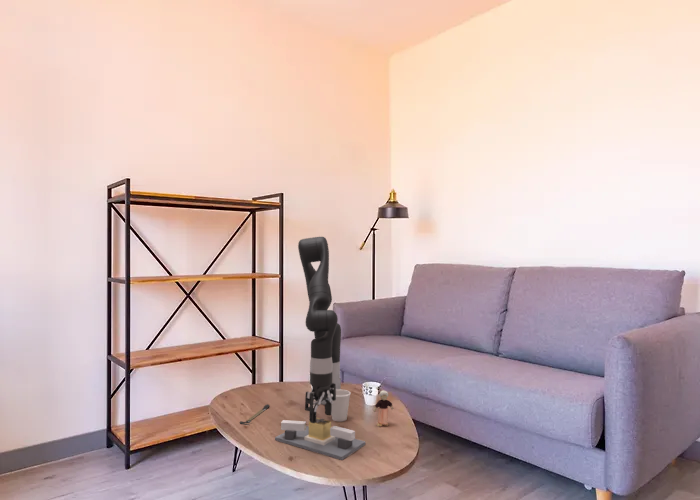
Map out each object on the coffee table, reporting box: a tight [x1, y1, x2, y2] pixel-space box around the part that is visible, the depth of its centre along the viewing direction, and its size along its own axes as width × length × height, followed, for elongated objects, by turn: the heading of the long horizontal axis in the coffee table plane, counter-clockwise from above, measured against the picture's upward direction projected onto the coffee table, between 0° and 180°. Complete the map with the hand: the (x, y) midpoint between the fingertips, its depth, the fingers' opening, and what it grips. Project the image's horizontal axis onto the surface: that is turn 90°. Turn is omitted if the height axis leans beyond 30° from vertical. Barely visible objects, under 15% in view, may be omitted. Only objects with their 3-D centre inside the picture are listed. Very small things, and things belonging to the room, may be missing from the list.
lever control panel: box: [274, 419, 366, 461], centre depth 156 cm, size 27×14×6 cm, turn 57°
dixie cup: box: [331, 388, 351, 422], centre depth 179 cm, size 8×8×10 cm
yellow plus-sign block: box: [308, 417, 332, 440], centre depth 156 cm, size 6×4×5 cm
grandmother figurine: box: [372, 390, 394, 427], centre depth 173 cm, size 8×4×13 cm, turn 118°
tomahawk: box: [238, 403, 270, 426], centre depth 181 cm, size 21×7×1 cm, turn 163°
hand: (320, 418), depth 156 cm, fingers open, 8 cm apart
